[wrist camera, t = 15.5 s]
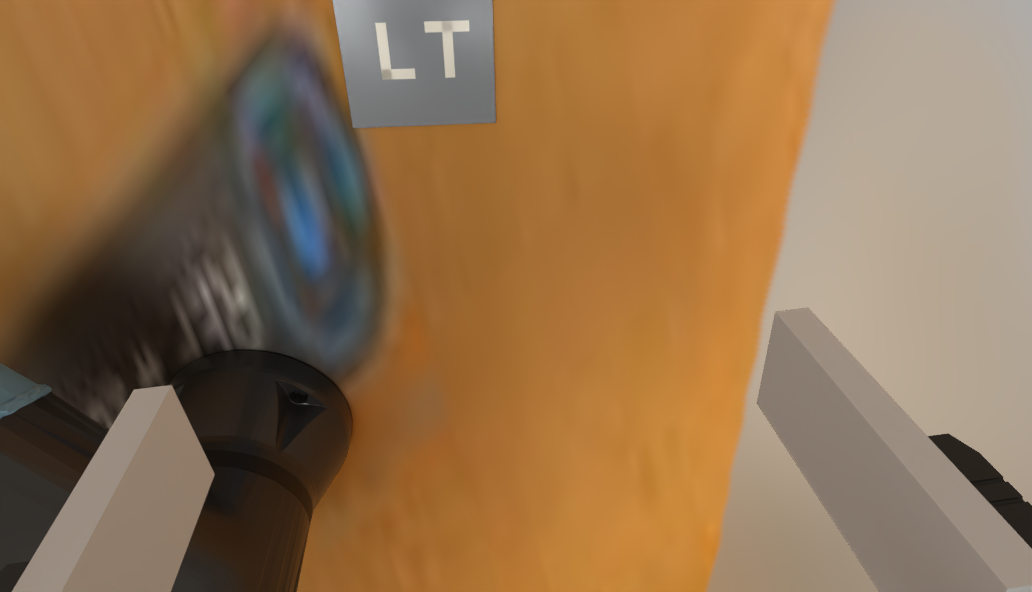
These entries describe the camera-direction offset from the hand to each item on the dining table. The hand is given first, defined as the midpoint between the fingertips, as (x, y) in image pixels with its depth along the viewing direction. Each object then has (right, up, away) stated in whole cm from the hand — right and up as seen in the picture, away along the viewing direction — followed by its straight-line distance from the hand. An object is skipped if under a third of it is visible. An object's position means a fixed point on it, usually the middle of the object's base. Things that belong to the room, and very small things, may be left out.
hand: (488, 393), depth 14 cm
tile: (-5, +17, +23) cm, 29 cm away
